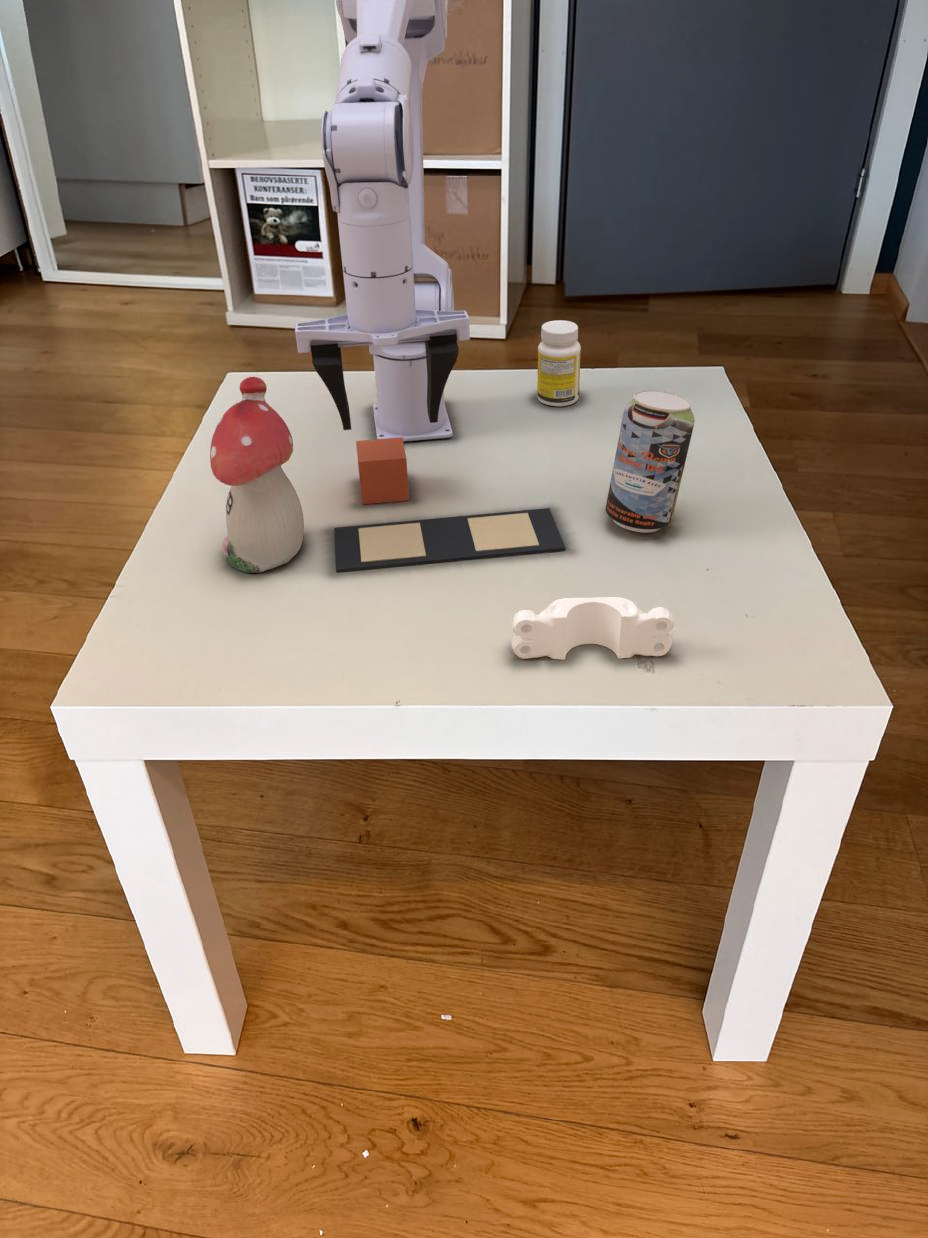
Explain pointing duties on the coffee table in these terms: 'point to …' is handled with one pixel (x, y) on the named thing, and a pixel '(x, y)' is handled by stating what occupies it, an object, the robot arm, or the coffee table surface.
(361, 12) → the robot arm
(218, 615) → the coffee table surface
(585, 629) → the pipe clamp
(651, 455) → the beverage can
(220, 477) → the decorative ornament
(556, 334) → the supplement bottle
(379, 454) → the orange red cube
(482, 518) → the black rectangular board
